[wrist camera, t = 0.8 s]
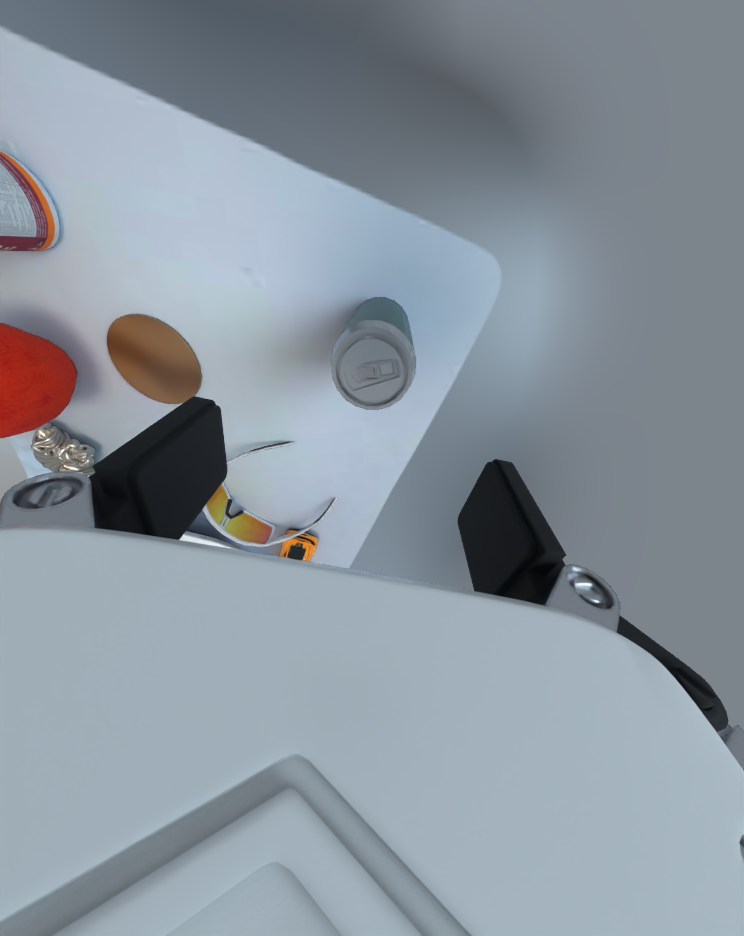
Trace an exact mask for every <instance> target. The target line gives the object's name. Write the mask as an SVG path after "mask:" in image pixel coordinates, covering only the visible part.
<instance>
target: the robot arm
mask: <svg viewBox="0 0 744 936" xmlns="http://www.w3.org/2000/svg"><path fill="white" fill-rule="evenodd" d="M93 468H94V470H95V473H94V474H92V475H91V476H90V477H87V476H85V475H84V474H81V473H77V472H67V471H61V472H52V473H47V474H42V475H38V476H35V477H32V478H29V479H27V480H24V481H22V482H20V483H18V484H17V485H15V486H13V487H12V488H11V489H9V490H8V491H7V492H6V493H5V494H4V496H3V498H2V499H1V503H0V936H744V730H743V729H742V728H741V727H740V726H739V725H737V726H734V727H731V726H730V725H729V724H728V717H727V713H726V710H725V708H724V706H723V704H722V702H721V700H720V699H719V698H718V696H717V695H716V693H715V692H714V691H713V689H712V688H711V686H710V685H709V684H708V683H707V682H706V681H705V680H704V679H703V678H702V677H701V676H700V675H698V674H697V673H696V672H695V671H693V670H692V669H691V668H690V667H688V666H687V665H686V664H684V663H683V662H682V661H680V660H679V659H678V658H676V657H675V656H674V655H672V654H671V653H670V652H668V651H667V650H666V649H664V648H663V647H662V646H660V645H659V644H658V643H656V642H655V641H653V640H652V639H651V638H649V637H648V636H647V635H645V634H644V633H643V632H641V631H640V630H639V629H637V628H636V627H635V626H633V625H632V624H631V623H629V622H628V621H627V620H625V619H624V618H622V617H621V616H620V609H621V608H620V601H619V599H618V597H617V594H616V593H615V592H614V590H613V589H612V588H611V586H610V585H608V583H607V582H606V581H605V580H604V579H602V578H601V577H600V576H598V575H597V574H596V573H594V572H593V571H591V570H589V569H587V568H585V567H582V566H579V565H574V564H569V565H565V564H564V562H563V560H562V559H563V558H564V557H565V556H566V554H565V552H564V550H563V549H562V547H561V545H560V543H559V542H558V540H557V538H556V537H555V535H554V533H553V531H552V530H551V528H550V526H549V525H548V523H547V521H546V519H545V518H544V516H543V514H542V513H541V511H540V509H539V508H538V506H537V504H536V502H535V501H534V499H533V497H532V496H531V494H530V492H529V490H528V489H527V487H526V485H525V483H524V482H523V480H522V478H521V477H520V475H519V473H518V471H517V470H516V468H515V466H514V465H513V463H511V462H507V461H502V460H497V459H495V460H493V461H492V462H488V463H487V464H486V465H485V467H484V469H483V471H482V473H481V475H480V476H479V478H478V480H477V482H476V484H475V486H474V488H473V490H472V492H471V493H470V495H469V497H468V499H467V501H466V503H465V504H464V507H463V508H462V510H461V512H460V514H459V517H458V526H459V530H460V534H461V538H462V542H463V547H464V551H465V554H466V559H467V562H468V567H469V571H470V575H471V579H472V583H473V587H474V591H471V590H465V589H460V588H454V587H448V586H443V585H437V584H432V583H426V582H420V581H415V580H409V579H404V578H398V577H392V576H387V575H381V574H376V573H370V572H364V571H358V570H353V569H347V568H341V567H335V566H330V565H324V564H318V563H312V562H306V561H301V560H295V559H289V558H283V557H277V556H271V555H265V554H260V553H254V552H248V551H242V550H236V549H230V548H224V547H218V546H212V545H206V544H200V543H194V542H188V541H182V540H179V539H180V538H181V537H182V536H183V534H184V533H185V532H186V530H187V529H188V528H189V526H190V525H191V524H192V522H193V521H194V520H195V518H196V517H197V516H198V514H199V513H200V512H201V510H202V509H203V508H204V506H205V505H206V504H207V502H208V501H209V500H210V498H211V497H212V496H213V494H214V493H215V492H216V490H217V489H218V488H219V487H220V485H221V484H222V483H223V481H224V480H225V478H226V475H227V462H226V453H225V444H224V435H223V426H222V417H221V409H220V407H219V406H217V405H216V404H215V402H214V401H213V400H209V399H205V398H200V397H191V398H190V399H189V400H187V401H186V402H184V403H183V404H181V405H180V406H179V407H177V408H176V409H174V410H173V411H171V412H170V413H169V414H167V415H166V416H164V417H163V418H161V419H160V420H159V421H157V422H156V423H154V424H153V425H151V426H150V427H148V428H147V429H146V430H144V431H143V432H141V433H140V434H138V435H137V436H136V437H134V438H133V439H131V440H130V441H128V442H127V443H126V444H124V445H123V446H121V447H120V448H118V449H117V450H115V451H114V452H113V453H111V454H110V455H108V456H107V457H105V458H104V459H103V460H101V461H100V462H98V463H97V464H95V465H94V466H93Z"/></svg>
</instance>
